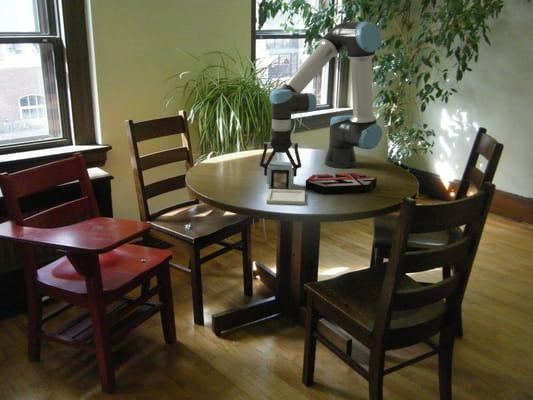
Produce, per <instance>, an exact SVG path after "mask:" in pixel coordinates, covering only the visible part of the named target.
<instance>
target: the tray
mask: <svg viewBox="0 0 533 400" xmlns="http://www.w3.org/2000/svg"><path fill="white" fill-rule="evenodd" d="M305 190H306V189H291V190H289V189H284V188H273V189H272V188H271V189H269V188H268V192H267V197H266V205H288V206H291V205H293V206H296V205H297V206H305V203H306V201H305V198H306V197H305V196H306V195H305Z"/></svg>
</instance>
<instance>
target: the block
mask: <svg viewBox="0 0 533 400" xmlns="http://www.w3.org/2000/svg"><path fill="white" fill-rule="evenodd" d="M287 185H288V184H287V171H274V183H273V188H274V187H278V188H277V189H287Z"/></svg>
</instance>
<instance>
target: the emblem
mask: <svg viewBox="0 0 533 400" xmlns="http://www.w3.org/2000/svg"><path fill="white" fill-rule="evenodd" d="M334 176H335V177H334ZM377 181H378V178H377V177H374V176H367V175H365V174H362V173H357V172H353V173H352V172H350V173H347V172H346V173H345V172H344V173H335V175H331V174H328V173H324V174H312V175H311V176H309V177H308V178H307V179H306V180H305V186H304V188H306V189H307V191H309V190H310V192H312V191H313V192H312V193H316V194H319V195H322V196H333V195H335V196H336V195H354V194H355V195H356V194H360V195H361V194H369V193H371V192H372V191H373V190H374V189H376V187H377ZM306 189H305V190H306Z"/></svg>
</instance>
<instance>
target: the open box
mask: <svg viewBox="0 0 533 400" xmlns="http://www.w3.org/2000/svg"><path fill="white" fill-rule="evenodd" d="M268 167H269V184H268V190H269V189H272V186H271V185H272V184H274V171H287V184H286V185H288V190H292V168H293V166H292V164H291V162H290V161H271V162H270V163H269V165H268Z"/></svg>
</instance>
